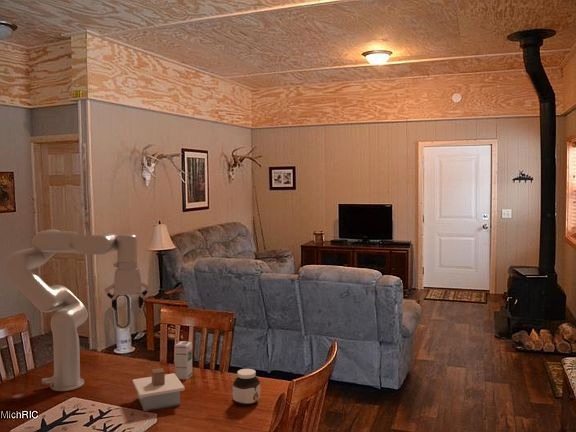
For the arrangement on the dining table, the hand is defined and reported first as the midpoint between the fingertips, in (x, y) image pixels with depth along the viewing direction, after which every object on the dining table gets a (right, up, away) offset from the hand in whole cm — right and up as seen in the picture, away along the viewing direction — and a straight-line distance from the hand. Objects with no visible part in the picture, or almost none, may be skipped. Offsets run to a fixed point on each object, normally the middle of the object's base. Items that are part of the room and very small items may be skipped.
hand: (127, 308), depth 208 cm
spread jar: (+47, -33, -9) cm, 59 cm away
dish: (+15, -33, -11) cm, 38 cm away
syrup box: (+20, -32, +14) cm, 40 cm away
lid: (+15, -27, -12) cm, 33 cm away
